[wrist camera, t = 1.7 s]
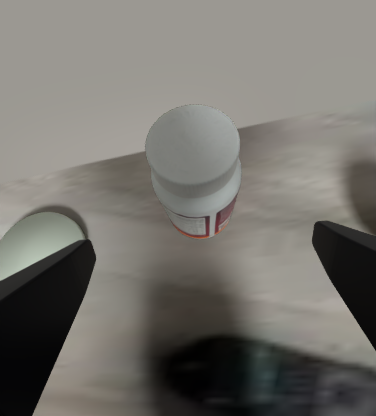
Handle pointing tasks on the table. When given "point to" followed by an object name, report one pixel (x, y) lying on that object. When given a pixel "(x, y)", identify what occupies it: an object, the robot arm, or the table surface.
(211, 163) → the pill bottle
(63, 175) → the table surface
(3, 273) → the dish
